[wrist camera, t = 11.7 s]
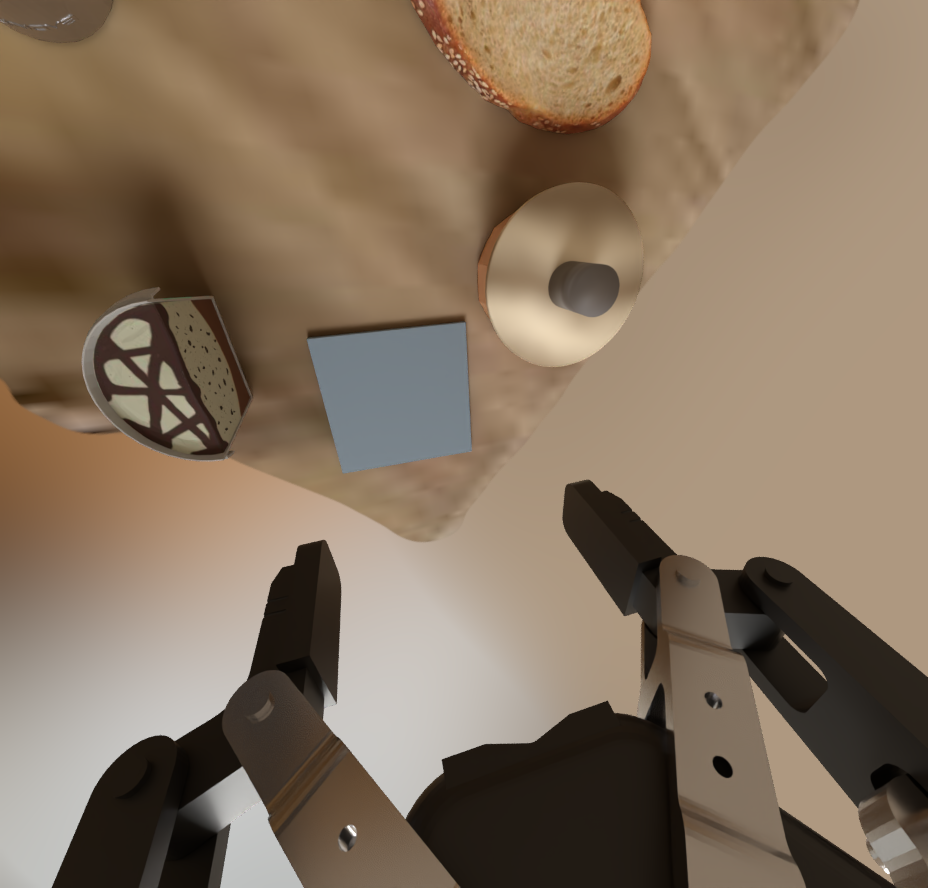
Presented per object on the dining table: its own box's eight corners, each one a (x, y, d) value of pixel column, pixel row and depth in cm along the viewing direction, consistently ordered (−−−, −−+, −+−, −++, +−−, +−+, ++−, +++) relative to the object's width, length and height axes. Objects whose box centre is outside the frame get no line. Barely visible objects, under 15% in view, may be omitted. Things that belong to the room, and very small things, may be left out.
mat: (307, 337, 33) (306, 339, 33) (464, 321, 36) (465, 322, 36) (343, 470, 41) (342, 473, 41) (470, 448, 44) (471, 451, 43)
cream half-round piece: (119, 283, 28) (17, 302, 20) (205, 275, 29) (142, 290, 21) (190, 422, 35) (134, 481, 26) (258, 412, 36) (226, 465, 27)
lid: (482, 186, 26) (507, 176, 22) (652, 180, 28) (705, 169, 24) (486, 373, 33) (505, 394, 29) (622, 354, 36) (659, 371, 31)
